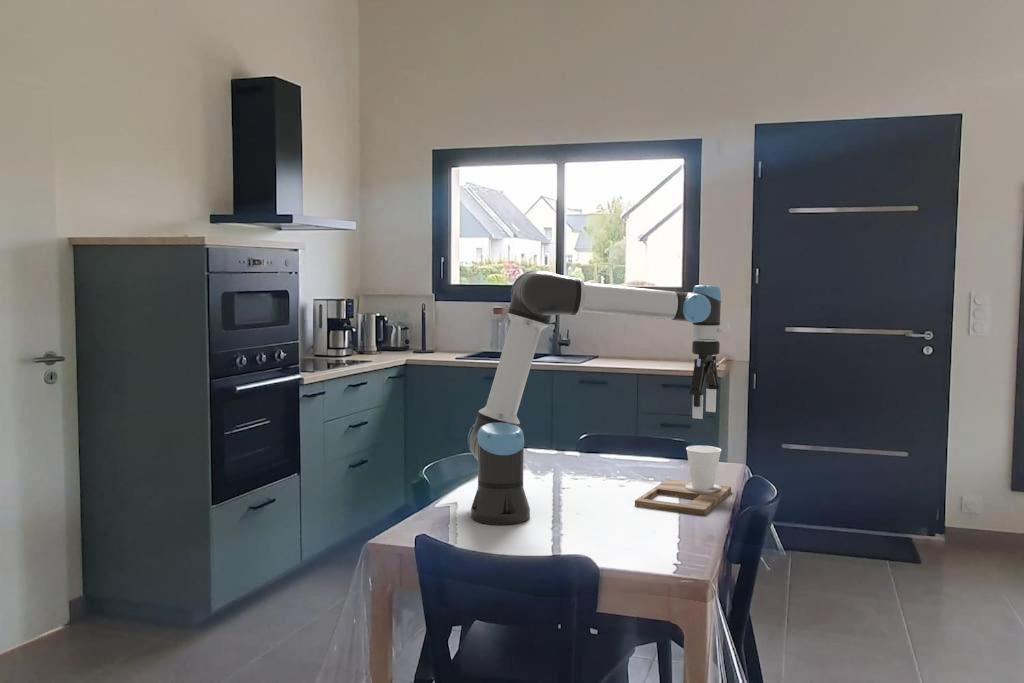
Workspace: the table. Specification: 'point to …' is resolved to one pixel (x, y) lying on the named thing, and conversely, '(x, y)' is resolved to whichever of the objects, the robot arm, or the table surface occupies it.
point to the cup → (703, 465)
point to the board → (699, 505)
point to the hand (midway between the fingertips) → (704, 415)
